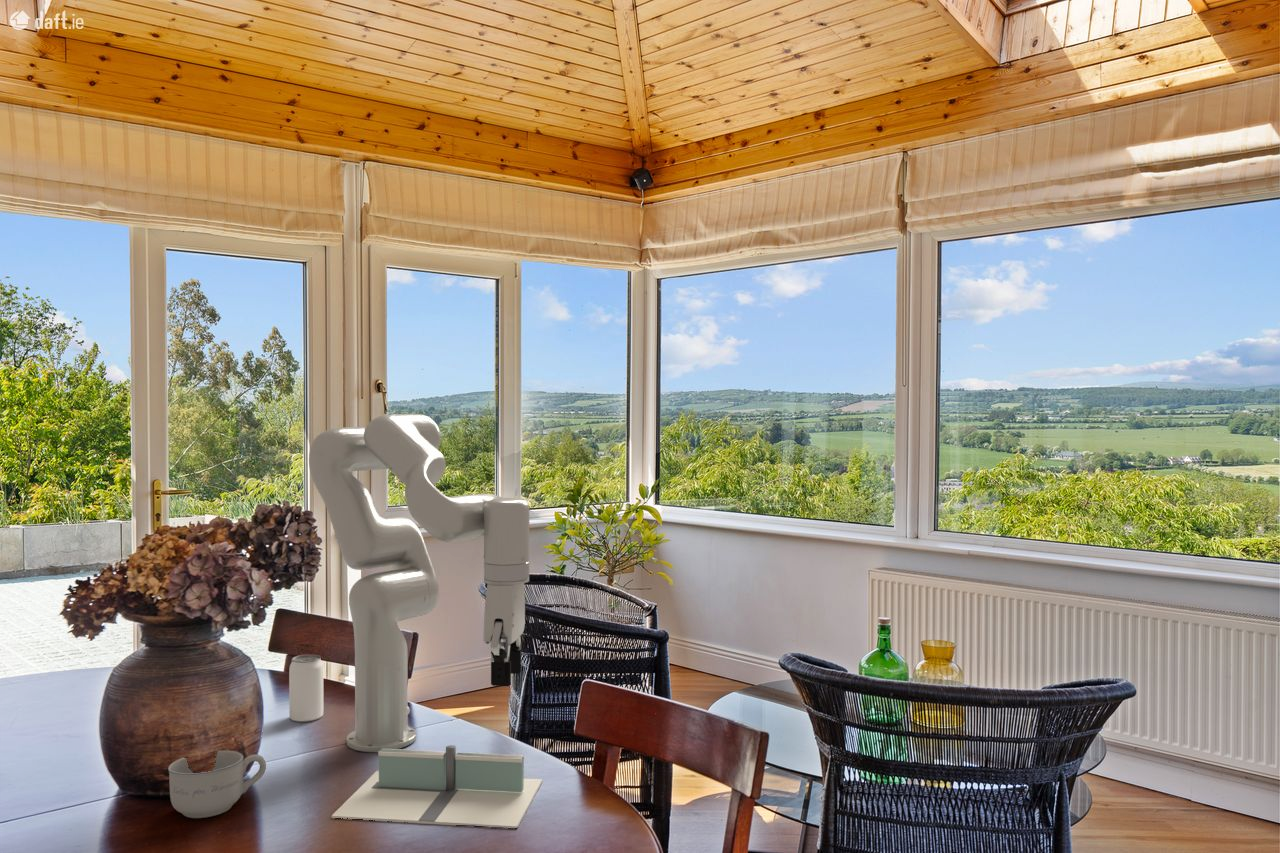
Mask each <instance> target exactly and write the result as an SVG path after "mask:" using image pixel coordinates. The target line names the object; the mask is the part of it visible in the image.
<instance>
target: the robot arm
mask: <svg viewBox="0 0 1280 853" xmlns="http://www.w3.org/2000/svg"><path fill="white" fill-rule="evenodd" d="M441 438H442V436H441V430H440V428H439V426H438V424H437V423H436V421H434V420H433V419H432V418H431V417H429V416H427V415H426V414H420V413H405V414H403V413H401V414H400V413H398V414H397V413H396V414H395V413H392V414H391V413H390V414H382V415H380V416H377V417H374V418H373V419H372V420H370V421H369V423H367V424H366V426H345V427H336V428H331V429H328V430H324V431H323V432H321V433H319V434H318V435H317V436H315V438H314V440H313V441H312V443H311V445H310V449H309V454H308V466H309V473H310V476H311V480H312V481H313V483H314V486H315V488H316V489H317V492H318V493H319V495H320V497H321V498H322V501H323V503H324V504H325V507H326V509H327V512H328V515H329V519H330V522H331V526H332V528H333V531H334V532H333V533H334V534H335V537H336V541H337V544H338V546H339V550H340V553H341V555H342V557H343V560H344V562H345V564H346V565H347V566H348V567H349V568H350V569H353V570H357V571H362V570H363V571H364V570H365V571H366V570H371V569H372V570H373V569H379V568H385V567H390V566H392V568H393V570H392V569H391V570H387V571H380V572H376V573H371V574H367V575H365V576H363V577H361V578H359V579H358V580H357V581H356V582H355V583H354V584H353V585H352V586H351V589H350V591H349V593H348V606H349V612H350V616H351V620H352V626H353V636H354V637H353V638H354V712H355V713H354V719H355V721H354V722H355V723H354V724H355V725H354V726H355V727H354V729H355V730H353V731H351V732H350V733H349V734H348V735H347V736H346V745H347V746H348V747H349V749H351V750H352V749H353V750H355V751H359V752H365V753H378V752H379V751H380V750H381V749H402V748H403V749H404V748H405V747H409V745H411V744H413V743H414V742H415V741H416V739H417V731H416V730H415V728H413V727H412V726H409V725H408V720H409V719H408V715H409V714H410V712H411V709H410V707H409V706H408V699H409V697H408V696H409V694H408V687H409V686H408V682H409V681H408V643H407V640H406V638H405V636H404V634H403V632H402V631H401V629H400V627H399V625H398V622H401V621H404V620H409V619H413V618H417V617H421V616H425V615H428V614H429V613H430V612H432V611H434V610H435V608H436V607H437V605H438V604H439V599H440V585H439V580H438V577H437V574H436V571H435V567H434V566H433V562H432V560H431V557H430V554H429V552H428V548H427V546H426V543H425V540H424V537H423V534H422V532H421V530H420V529H419V527H418V526H417V524H418V525H420V527H422V529H424V530H425V531H426V532H427V533H428V534H429V535H430V536H432V537H434V538H435V539H437V540H439V541H441V542H446V543H453V542H459V541H460V542H461V541H466V540H472V539H473V540H474V539H483V583H485V584H487V585H486V591H485V600H484V618H483V619H484V620H483V642H484V644H486V645H489V644H490V650H491V651H490V684H491V686H493V687H510V686H511V683H512V675H515V674H516V675H519V674H521V672H522V642H521V641H522V640H521V637H522V634H523V633H524V630H525V627H526V626H525V623H526V601H525V599H526V597H525V584H526V583H529V582H530V506H529V502H527V501H526V500H525V499H523V498H516V497H503V496H499V495H496V494H492V493H475V494H472V493H471V494H464V495H463V494H461V495H453V496H446V495H445V494H444V493H443V492H441V491H440V490H439V489H438V487H435V486H436V484H437V483H438V482H440V480H441V478H442V477H443V475H444V473H445V469H446V466H447V464H446V459H445V455H443V453H442V452H441V451H440V450H439V449H440V448H439V447H440V445H441V442H442V439H441ZM379 470H389V471H390V473H392V474H393V475H394V476H395V477H396V478H397V479H398V480H399V481H400V482H401V483H402V484H403V485H404V486H405V488H404V499H405V502H406V508H407V509H408V512H409V514H410V516H411V517H412V518H413V520H414V521H415V522H416V523H417V524H416V523H415V522H414V521H413V520H411V519H410V518H408V517H406V516H402V515H390V516H381V515H380V514H379V512H378V511H377V508H376V504H375V502H374V499H373V496H372V495H371V493H370V491H369V490H368V488H367V487H366V486H365V485H364V484H363V483H362V482H361V481H360V480H359V479H358V478H356V476H354V475H353V472H361V471H379Z"/></svg>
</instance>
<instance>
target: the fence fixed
mask: <svg viewBox="0 0 1280 853" xmlns="http://www.w3.org/2000/svg"><path fill="white" fill-rule="evenodd" d="M377 754H378V771H379V787H398V788H417V789H435V790H444V789H445V788H446V790H448V791H453V790H455V789H456V759H455V756H456V754H457V746H456V745H454V744H451V745H447V746H445V751H441V750H440V751H439V750H423V749H422V750H421V749H418V750H417V749H416V750H415V749H402V748H399V749H381V750H380V751H379V752H377Z"/></svg>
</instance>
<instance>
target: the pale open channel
mask: <svg viewBox="0 0 1280 853" xmlns="http://www.w3.org/2000/svg"><path fill="white" fill-rule="evenodd" d="M455 759H456V789H470V790H488V791H507V792H522V791H523V789H524V777H525V775H524V773H525V772H524V769H525V766H524V761H525V755H522V754H521V755H520V754H503V753H501V754H499V753H483V752H482V753H481V752H480V753H479V752H463V751H462V752H461V751H460V752H459V751H458V752H456V756H455Z"/></svg>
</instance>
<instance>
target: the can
mask: <svg viewBox="0 0 1280 853" xmlns="http://www.w3.org/2000/svg"><path fill="white" fill-rule="evenodd" d="M321 658H322V656H321V655H318V654H301V655H296V656H294V657H292V658H291V663H290V665H289V669H288V670H289V672H288V673H289V674H288V678H289V679H288V680H289V681H288V685H289V687H288V689H289V690H288V696H289V697H288V699H289V701H288V702H289V704H288V706H289V708H288V710H289V713H288V714H289V718H290V719H291V721H293V722H296V723H309V722H314V721H317V720H319V719H321V718H322V717H323V715H324V664H323V661H322V660H321Z"/></svg>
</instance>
